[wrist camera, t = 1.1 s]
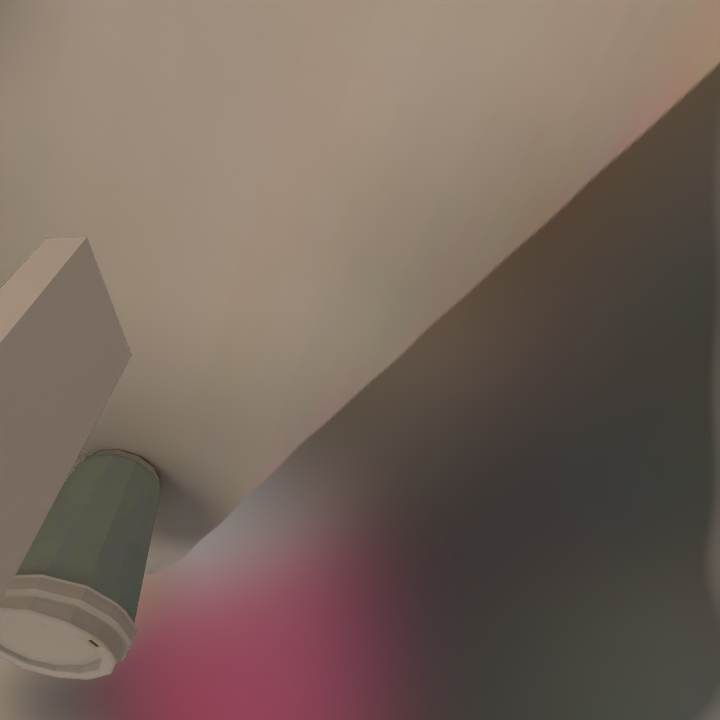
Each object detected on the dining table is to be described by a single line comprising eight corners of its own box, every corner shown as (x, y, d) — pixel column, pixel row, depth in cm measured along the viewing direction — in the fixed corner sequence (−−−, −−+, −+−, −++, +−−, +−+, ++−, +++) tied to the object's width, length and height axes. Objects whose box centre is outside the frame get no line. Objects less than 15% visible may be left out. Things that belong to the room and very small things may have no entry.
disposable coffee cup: (106, 522, 55) (32, 699, 43) (23, 445, 48) (-90, 628, 37) (208, 497, 52) (158, 679, 40) (134, 411, 46) (49, 598, 34)
